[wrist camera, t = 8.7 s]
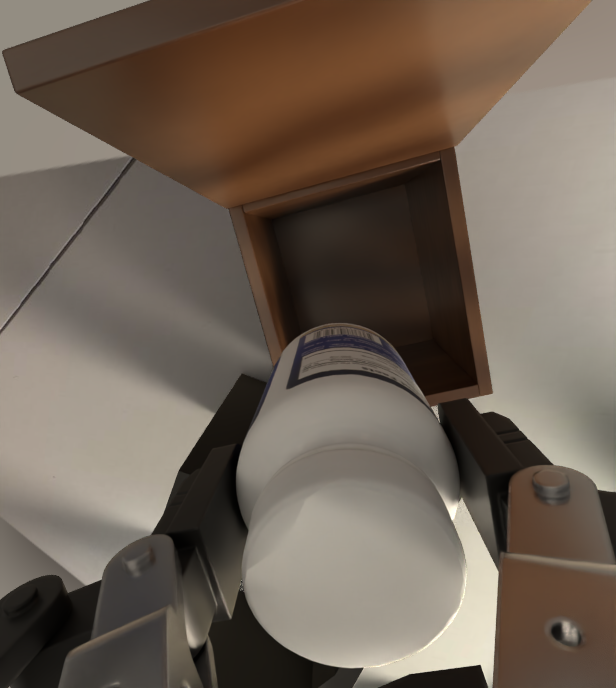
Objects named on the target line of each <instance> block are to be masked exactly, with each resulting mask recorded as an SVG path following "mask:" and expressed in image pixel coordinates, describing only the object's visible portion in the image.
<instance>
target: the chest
mask: <svg viewBox="0 0 616 688" xmlns="http://www.w3.org/2000/svg"><path fill="white" fill-rule="evenodd" d="M228 209H229V213H230V216H231V220H232V223H233V227H234V230H235V234H236V237H237V241H238V244H239V248H240V251H241V255H242V258H243V262H244V265H245V269H246V272H247V276H248V279H249V283H250V287H251V290H252V294H253V297H254V301H255V304H256V308H257V311H258V315H259V318H260V322H261V325H262V329H263V332H264V336H265V339H266V343H267V346H268V350H269V353H270V357H271V361H272V364H273V368H274V366H275V364H276V362H277V360H278V359H279V357H280V355H281V354H282V352H283V351H284V350H285V348H286V347H287V346H288V345H289V344H290V343H291V342H292V341H293V340H294V339H295V338H297V337H298V336H300V335H301V334H303V333H304V332H306V331H308V330H310V329H312V328H315V327H318V326H321V325H325V324H331V323H348V324H354V325H359V326H362V327H365V328H368V329H370V330H372V331H374V332H376V333H377V334H379V335H380V336H382V337H383V338H384V339H386V340H387V341H388V342H389V343H390V344H391V345H392V346H393V347H394V349H395V350H396V351H397V352H398V354H399V355H400V357H401V358H402V360H403V361H404V363H405V365H406V366H407V368H408V370H409V372H410V373H411V375H412V377H413V379H414V380H415V382H416V384H417V385H418V387H419V388H420V390H421V392H422V393H423V395H424V397H425V398H426V400H427V402H428V404H429V405H430V407H431V406H436V405H438V403H443V402H448V401H452V400H457V399H462V398H467V399H470V398H475V397H479V396H484V395H489V394H493V391H492V384H491V378H490V372H489V365H488V359H487V352H486V346H485V340H484V333H483V327H482V321H481V314H480V308H479V301H478V295H477V289H476V282H475V276H474V269H473V263H472V257H471V250H470V244H469V238H468V231H467V225H466V218H465V212H464V206H463V199H462V193H461V186H460V180H459V174H458V167H457V161H456V155H455V148H454V147H450V148H447V149H443V150H440V151H436V152H432V153H429V154H425V155H421V156H418V157H414V158H410V159H407V160H403V161H399V162H396V163H392V164H389V165H385V166H381V167H378V168H374V169H370V170H367V171H363V172H359V173H356V174H352V175H348V176H345V177H341V178H337V179H334V180H330V181H327V182H323V183H319V184H316V185H312V186H308V187H305V188H301V189H297V190H294V191H290V192H286V193H283V194H279V195H275V196H272V197H268V198H265V199H261V200H257V201H254V202H250V203H246V204H243V205H239V206H235V207H232V208H228Z"/></svg>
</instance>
